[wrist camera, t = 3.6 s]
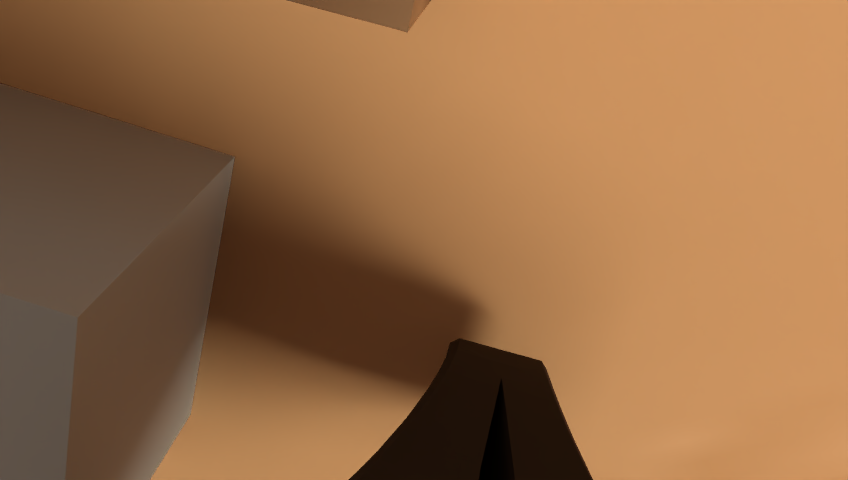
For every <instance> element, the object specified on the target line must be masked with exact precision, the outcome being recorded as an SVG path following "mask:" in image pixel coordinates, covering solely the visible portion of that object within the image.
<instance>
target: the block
mask: <svg viewBox="0 0 848 480" xmlns="http://www.w3.org/2000/svg"><path fill="white" fill-rule="evenodd" d="M234 159H235V157H234V156H231V155H228V154H225V153H221V152H218V151H215V150H212V149H209V148H205V147H202V146H199V145H196V144H193V143H190V142H186V141H183V140H180V139H177V138H174V137H170V136H167V135H164V134H161V133H158V132H155V131H151V130H148V129H145V128H142V127H139V126H135V125H132V124H129V123H126V122H123V121H119V120H116V119H113V118H110V117H107V116H104V115H100V114H97V113H94V112H91V111H88V110H84V109H81V108H78V107H75V106H72V105H69V104H65V103H62V102H59V101H56V100H53V99H49V98H46V97H43V96H40V95H37V94H33V93H30V92H27V91H24V90H21V89H18V88H14V87H11V86H8V85H5V84H2V83H0V480H150V479H151V477H152V476H153V474H154V472H155V471H156V469H157V468H158V466H159V464H160V463H161V461H162V460H163V458H164V456H165V455H166V453H167V452H168V450H169V448H170V447H171V445H172V444H173V442H174V440H175V439H176V437H177V436H178V434H179V432H180V431H181V429H182V427H183V426H184V424H185V423H186V421H187V419H188V418H189V416H190V415H191V409H192V403H193V397H194V392H195V386H196V380H197V374H198V368H199V363H200V357H201V351H202V345H203V339H204V333H205V328H206V322H207V316H208V310H209V304H210V299H211V293H212V287H213V281H214V275H215V270H216V264H217V258H218V252H219V246H220V241H221V235H222V229H223V223H224V217H225V212H226V206H227V200H228V194H229V188H230V183H231V177H232V171H233V165H234Z"/></svg>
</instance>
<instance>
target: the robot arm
mask: <svg viewBox="0 0 848 480" xmlns="http://www.w3.org/2000/svg"><path fill="white" fill-rule="evenodd" d="M349 480H593V479H592V477H591V475H590V473H589V471H588V468H587V466H586V464H585V462H584V460H583V458H582V456H581V454H580V451H579V449H578V447H577V445H576V443H575V441H574V438H573V436H572V434H571V432H570V429H569V427H568V425H567V422H566V420H565V417H564V415H563V412H562V410H561V408H560V405H559V402H558V400H557V397H556V395H555V392H554V389H553V387H552V384H551V381H550V378H549V375H548V373H547V370H546V368H545V366H544V364H543V363H542V361H540V360H536V359H532V358H529V357H525V356H521V355H518V354H514V353H511V352H507V351H503V350H500V349H496V348H492V347H489V346H485V345H481V344H478V343H474V342H471V341H467V340H463V339H458V340H455V341H453V342H451V343H450V345H449V349H448V352H447V355H446V358H445V360H444V362H443V364H442V366H441V368H440V370H439V372H438V374H437V375H436V377H435V378H434V380H433V382H432V383H431V385H430V386H429V388H428V389H427V391H426V392H425V394H424V395H423V396H422V398H421V399H420V400H419V402H418V403H417V404H416V406H415V407H414V409H413V410H412V411H411V413H410V414H409V415H408V417H407V418H406V419H405V420H404V421H403V423H402V424H401V425H400V426H399V427H398V428H397V430H396V431H395V432H394V433H393V434H392V435H391V436H390V437H389V439H388V440H387V441H386V442H385V443H384V444H383V445H382V447H381V448H380V449H379V450H378V451H377V452H376V453H375V454H374V455H373V456H372V457H371V458H370V459H369V460H368V461H367V462H366V463H365V464H364V465H363V466H362V467H361V468H360V469H359V470H358V471H357V472H356V473H355V474H354V475H353V476H352V477H351V478H350V479H349Z"/></svg>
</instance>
